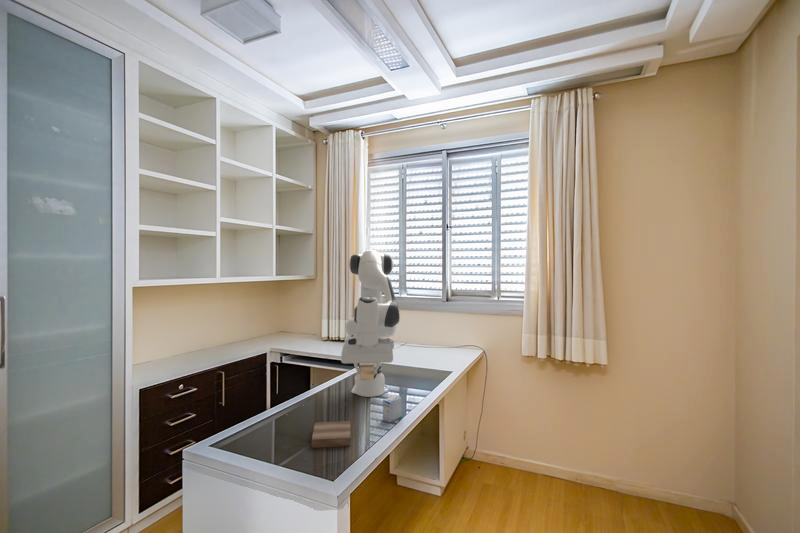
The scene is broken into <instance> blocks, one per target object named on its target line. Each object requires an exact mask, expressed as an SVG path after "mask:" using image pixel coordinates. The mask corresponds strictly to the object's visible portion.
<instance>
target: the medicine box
mask: <svg viewBox="0 0 800 533" xmlns="http://www.w3.org/2000/svg"><path fill="white" fill-rule="evenodd" d="M402 411H403V398H402V397H401V396H398V395H395V394H394V395H392V396H389V397H387V398H385V399H383V400H382V420H383V421H385V422H387V423H392V422H393V421H395V420H396V421H397V419H400V418H401V417H402Z"/></svg>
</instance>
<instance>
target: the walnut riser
mask: <svg viewBox="0 0 800 533" xmlns="http://www.w3.org/2000/svg"><path fill="white" fill-rule="evenodd" d="M351 433H352V432H351V421H350V420H347V421H321V422H320V421H319V422H314V426H313V432H312V436H311V448H312V449H313V448H315V449H316V448H332V447H333V448H334V447H350V446H351V440H352V439H351Z"/></svg>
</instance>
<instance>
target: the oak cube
mask: <svg viewBox="0 0 800 533" xmlns="http://www.w3.org/2000/svg"><path fill="white" fill-rule="evenodd" d="M359 364H360V363H359ZM360 369H361V374H360V379H361V380H374V365H373V363H368V364H360Z"/></svg>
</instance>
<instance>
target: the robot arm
mask: <svg viewBox="0 0 800 533" xmlns="http://www.w3.org/2000/svg"><path fill="white" fill-rule="evenodd" d="M348 266H349V267H348V268H349V270H350V273H352V274H353V275H356V276H358V281H359V282H360V297H359V298H358V300H357V305H356V306H355V307H354V310H353V312H354V313H353V314H354V315H353V316H354V317H350V318H349V319H347V321H346V323H345V333H346V335H347V336H345V338H344V344H343V345H342V349H341V354H340V362H341V363H342V364H353V366H354V368H355V370H356V376H354V381H355V382H354V385H353V386H352V389H351V392H350V393H352V394H354V395H355V394H356V395H358V396H360V397H364V398H365V397H367V398H371V397H372V398H373V397H378V396H382V395H383V394H386V393H387V392H389V388H387V387H386V386H385V385H386V383H385V381H386V380H385V375H384V373H382V372H383V366H382V364H383V363H387V364H388V363H389V364H390V363H392V362H393V361H394V353H393V349H394V346H395V343H394V340H393V339H391V337H394V334H395V333H396V330H397V325H398V324H399V323H400V319H401V313H400V309H399V305H398V303H397V300H396V295H395V292H394V288H393V284H392V282H391V279H390V277H389V276H388V275H390V273H392V272H393V269H394V259H393V258H392V255H391V254H389V253H379V252H378V251H376V250H374V249H368V250H365V251H364V252H363V253H355V254H352V255H351V256H350V258H349V261H348ZM383 295H384V299H385V302H383ZM368 363H373V365H374V380H361V379H360V374H361V369H360V364H368Z"/></svg>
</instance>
